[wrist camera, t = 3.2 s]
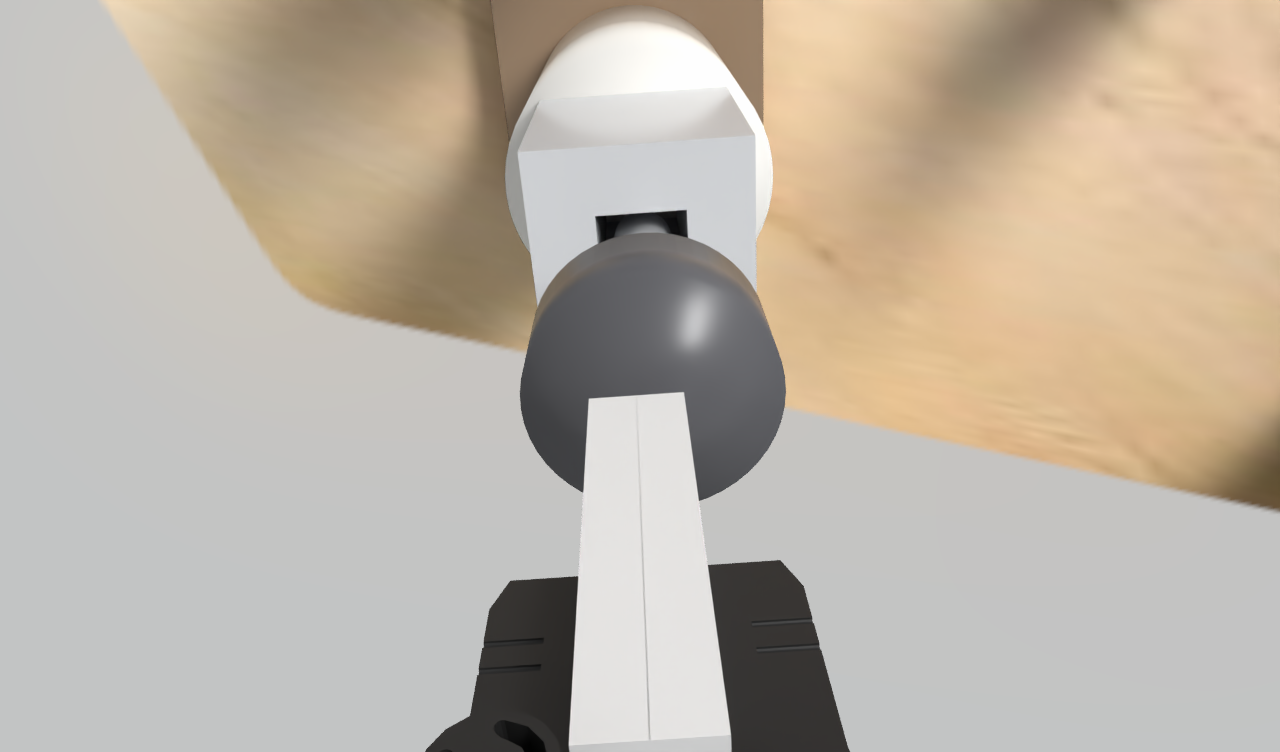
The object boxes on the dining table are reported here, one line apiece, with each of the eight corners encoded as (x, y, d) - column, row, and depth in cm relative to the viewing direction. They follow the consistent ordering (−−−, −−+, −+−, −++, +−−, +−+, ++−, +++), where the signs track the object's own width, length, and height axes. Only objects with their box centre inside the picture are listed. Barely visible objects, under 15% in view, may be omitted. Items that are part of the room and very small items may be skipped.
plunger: (733, 313, 26) (784, 500, 18) (563, 325, 26) (536, 516, 18) (729, 142, 24) (787, 266, 16) (544, 156, 24) (503, 286, 16)
